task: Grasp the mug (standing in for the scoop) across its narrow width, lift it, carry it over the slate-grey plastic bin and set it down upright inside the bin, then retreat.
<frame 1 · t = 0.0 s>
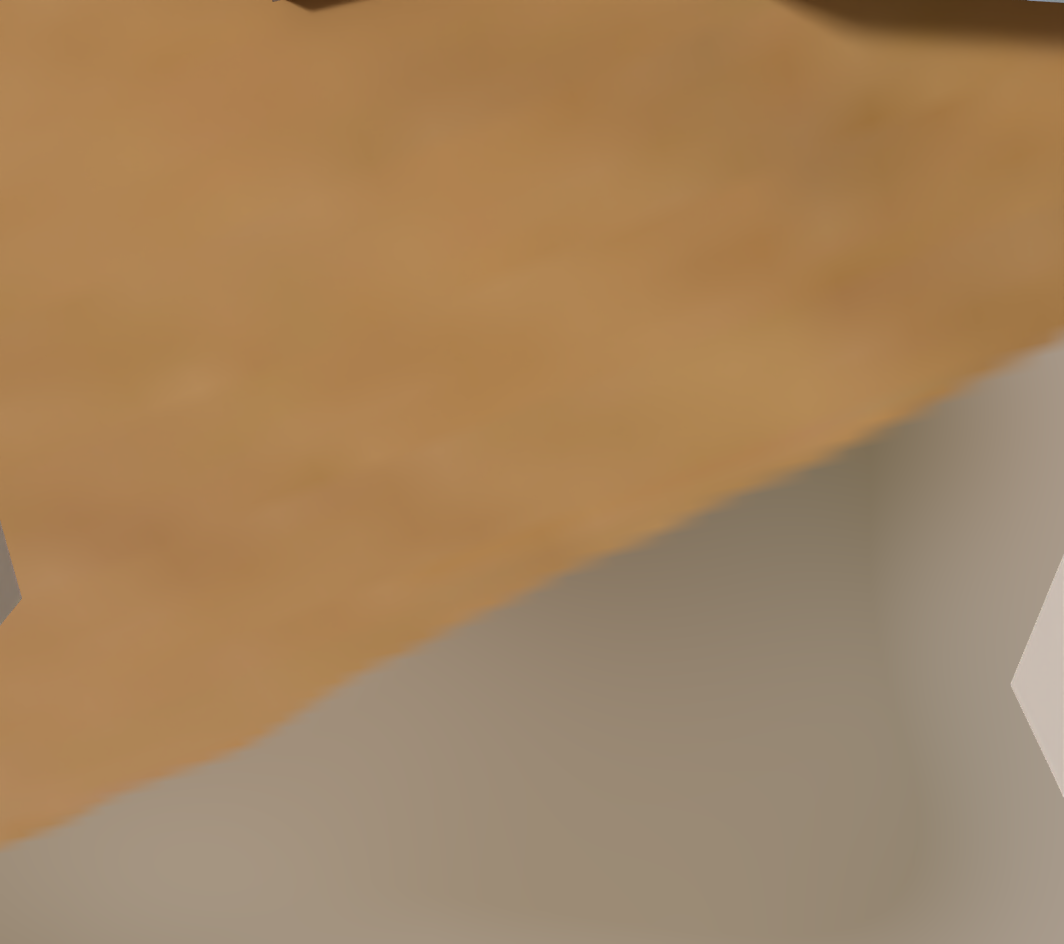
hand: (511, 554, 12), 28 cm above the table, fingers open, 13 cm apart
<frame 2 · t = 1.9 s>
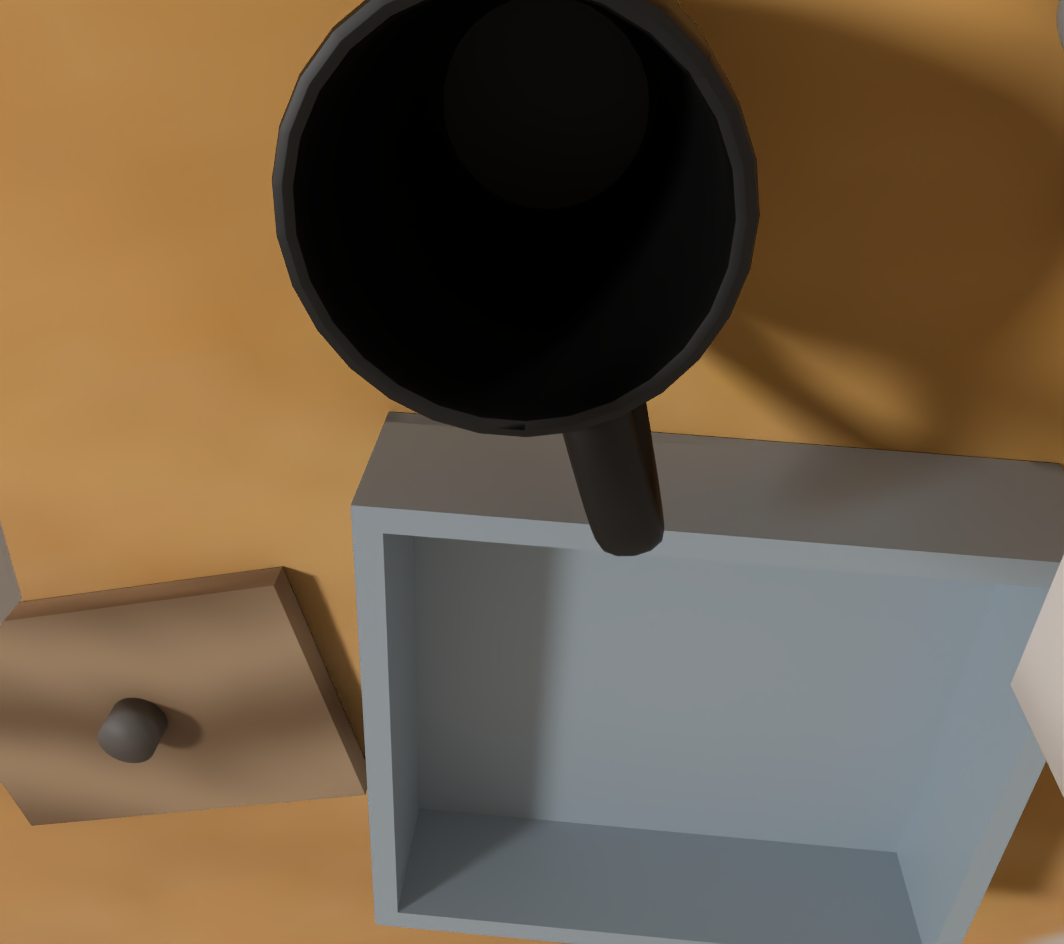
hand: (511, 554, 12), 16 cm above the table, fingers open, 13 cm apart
bin: (681, 661, 34), on the table
lid: (151, 698, 37), on the table
mug: (566, 177, 26), on the table
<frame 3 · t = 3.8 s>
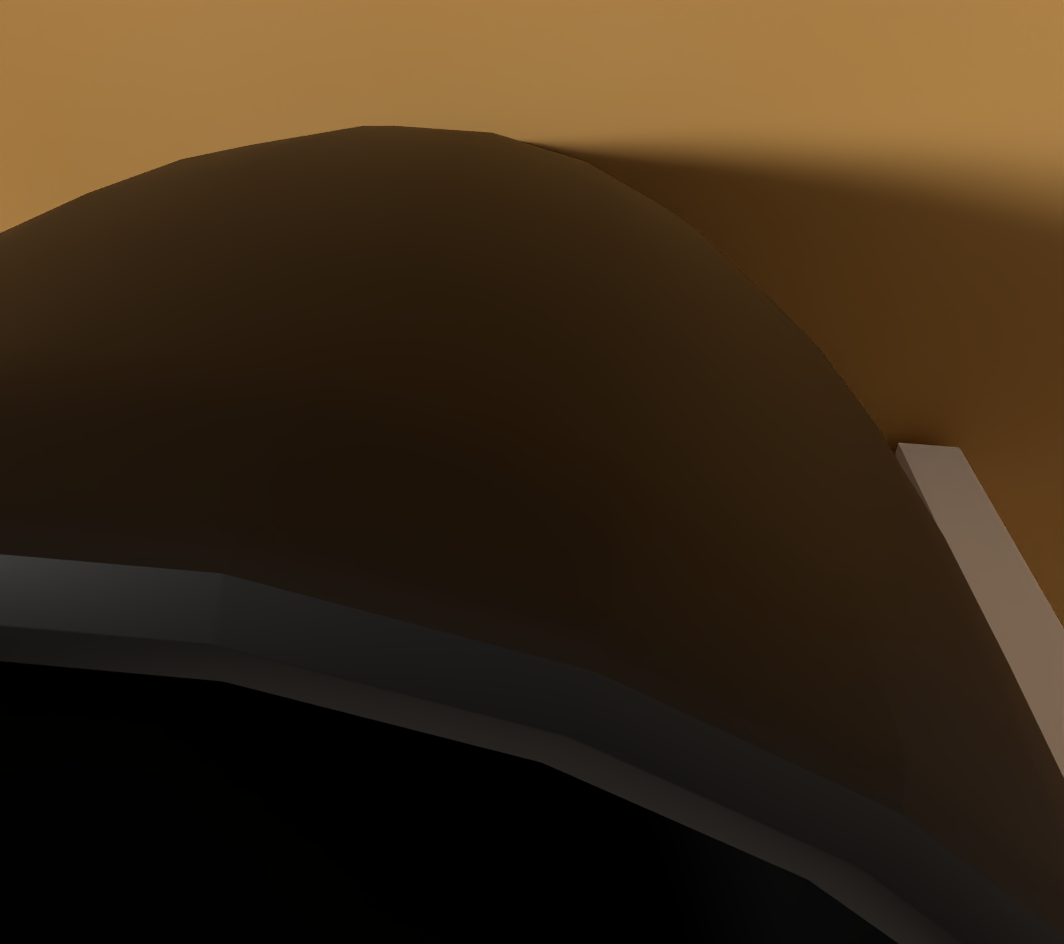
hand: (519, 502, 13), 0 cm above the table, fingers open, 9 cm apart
mug: (522, 479, 14), on the table, touching gripper
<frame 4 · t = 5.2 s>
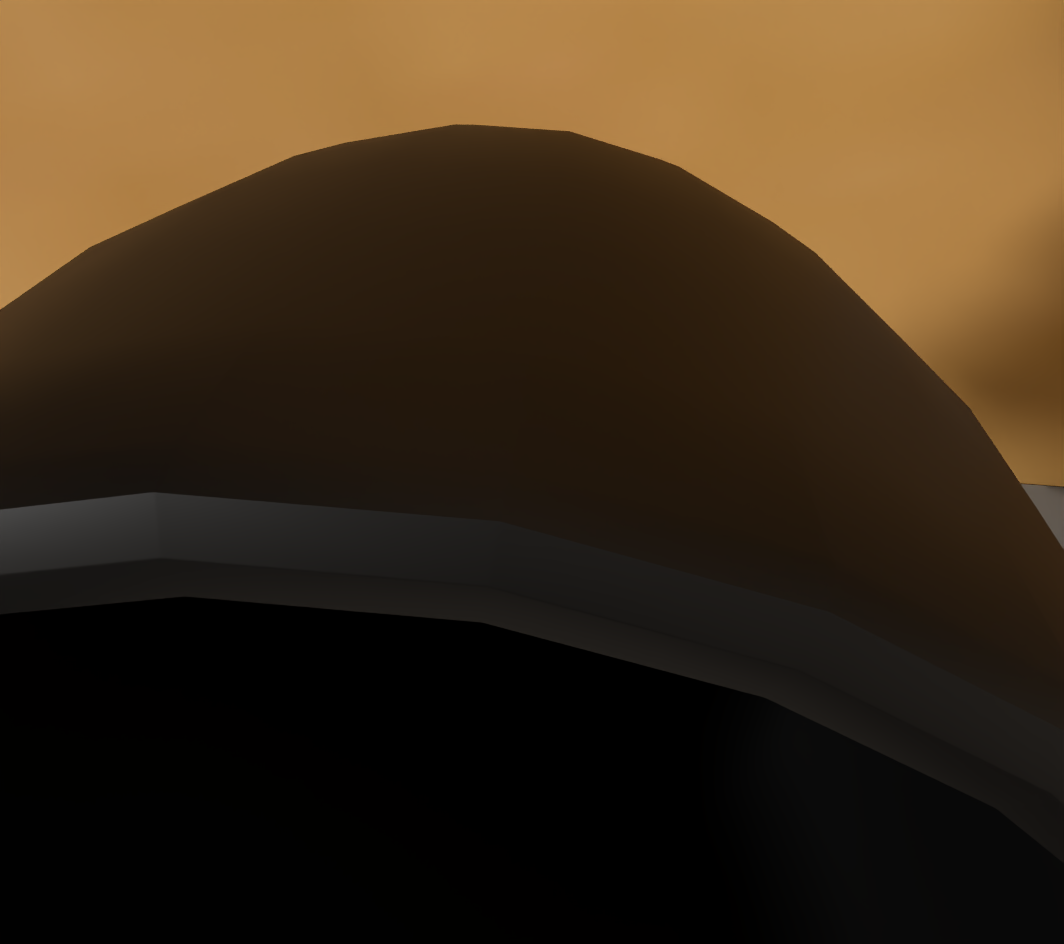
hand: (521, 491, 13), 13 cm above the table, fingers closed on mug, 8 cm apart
bin: (682, 688, 33), on the table
mug: (568, 472, 14), point 13 cm above the table, touching gripper
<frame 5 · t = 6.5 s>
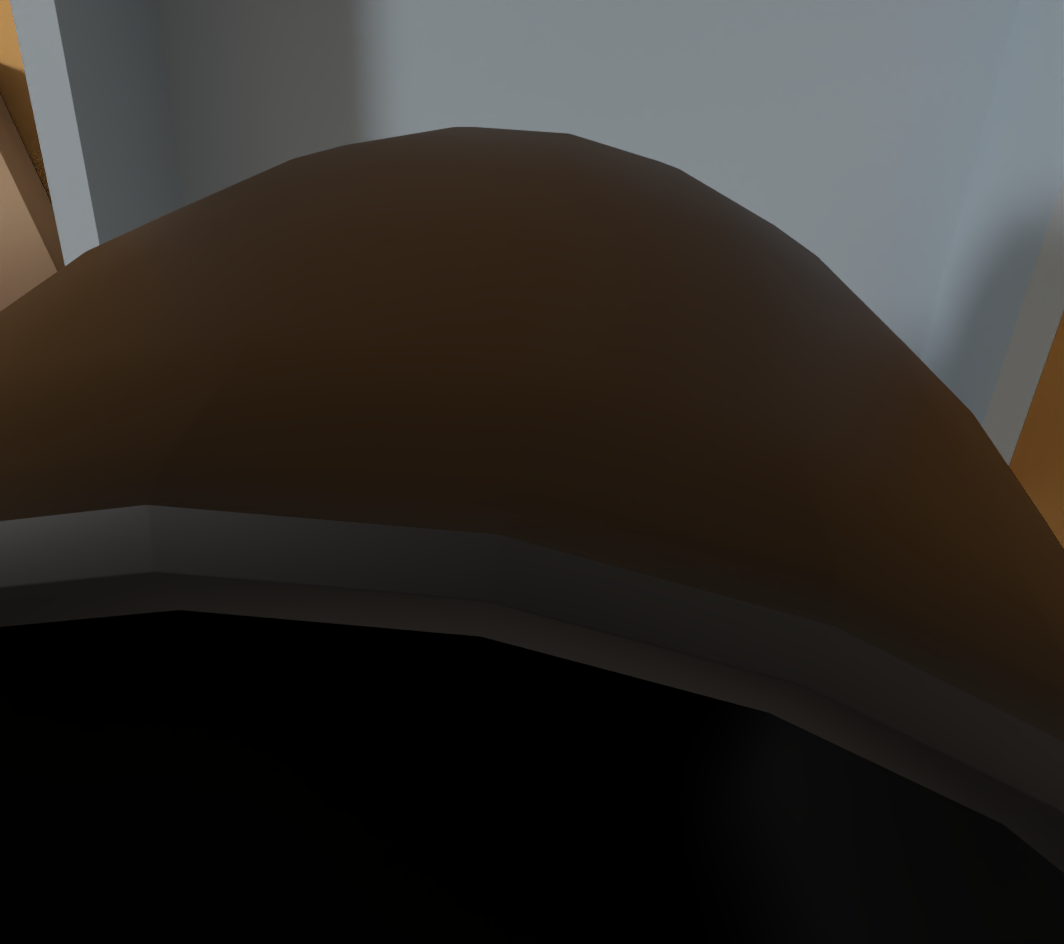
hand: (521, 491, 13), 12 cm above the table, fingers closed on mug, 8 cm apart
bin: (563, 212, 24), on the table
mug: (568, 474, 14), point 12 cm above the table, touching gripper
when the fingers open (2 cm above the table, at t = 8.6 s): mug drops 1 cm, resting on bin.
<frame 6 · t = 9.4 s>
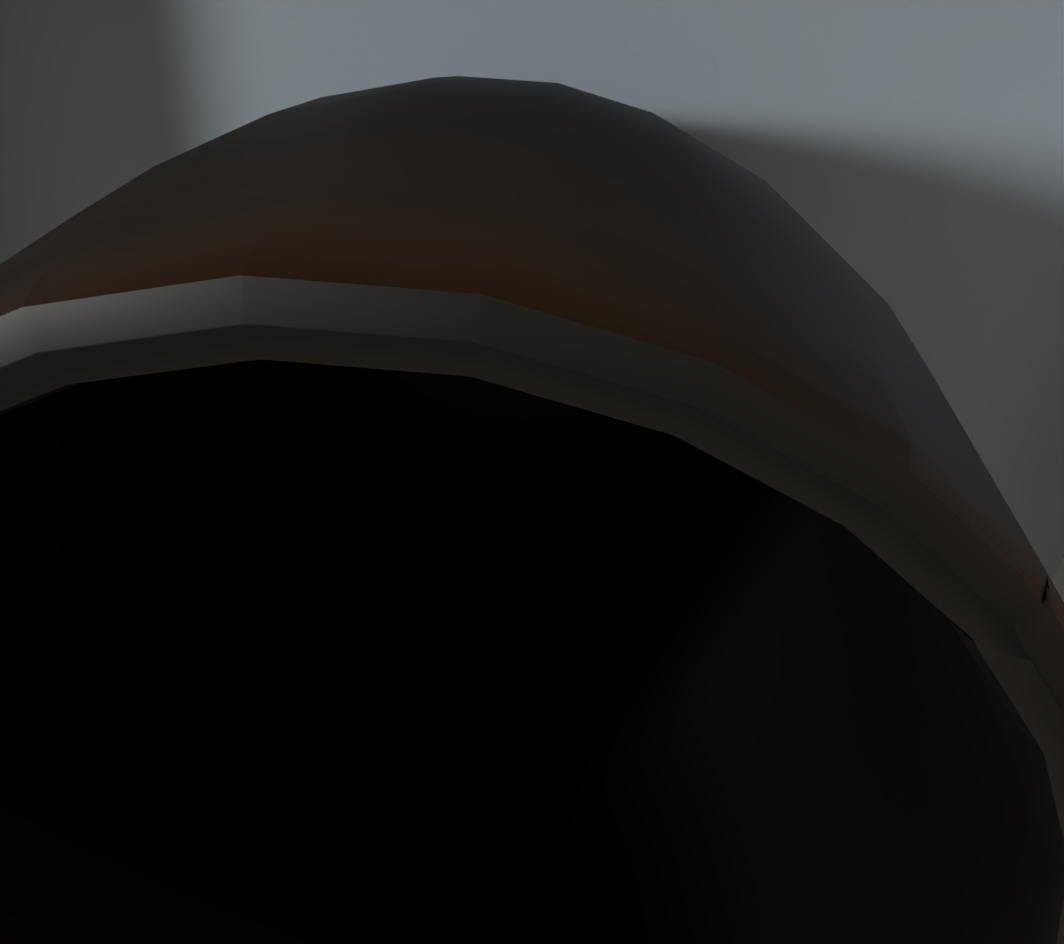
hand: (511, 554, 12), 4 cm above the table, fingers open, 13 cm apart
bin: (533, 412, 15), on the table
mug: (564, 418, 15), resting on bin
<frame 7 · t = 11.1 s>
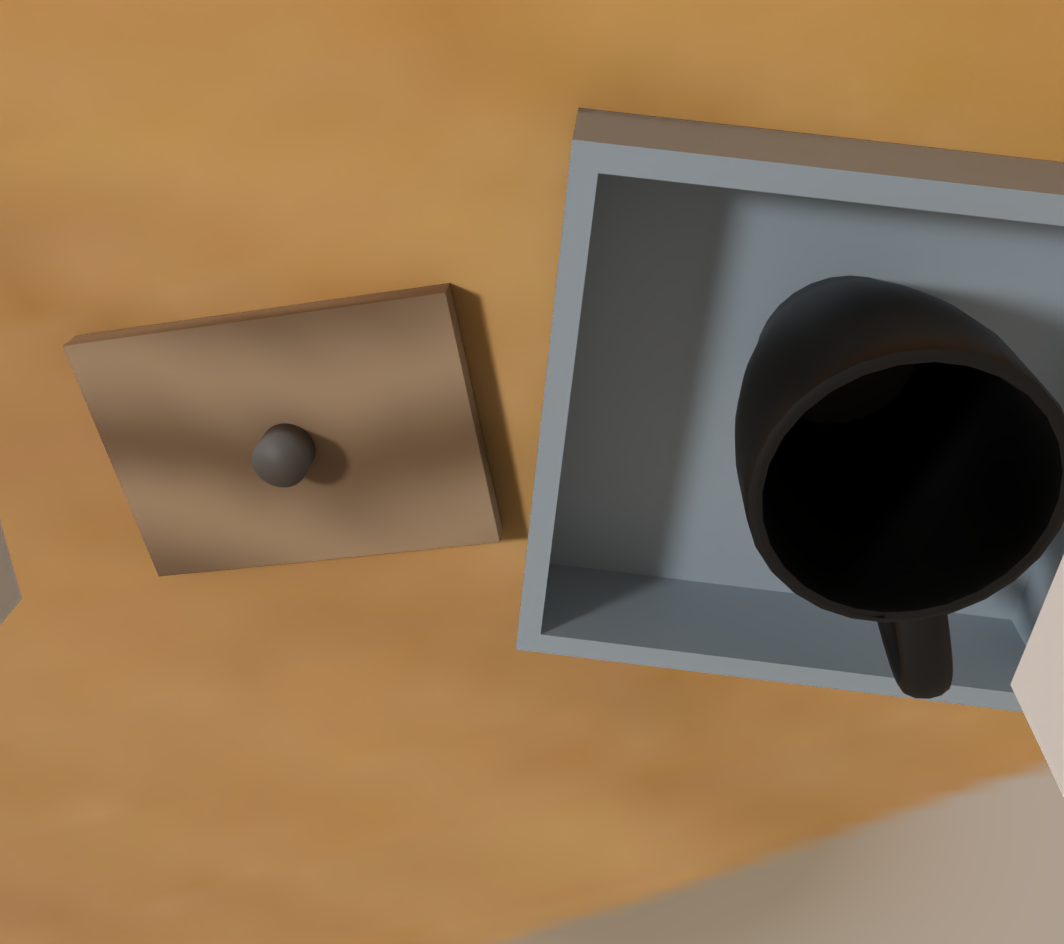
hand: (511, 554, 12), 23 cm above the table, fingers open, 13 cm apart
bin: (825, 398, 35), on the table
lid: (296, 435, 38), on the table
mug: (842, 401, 35), resting on bin
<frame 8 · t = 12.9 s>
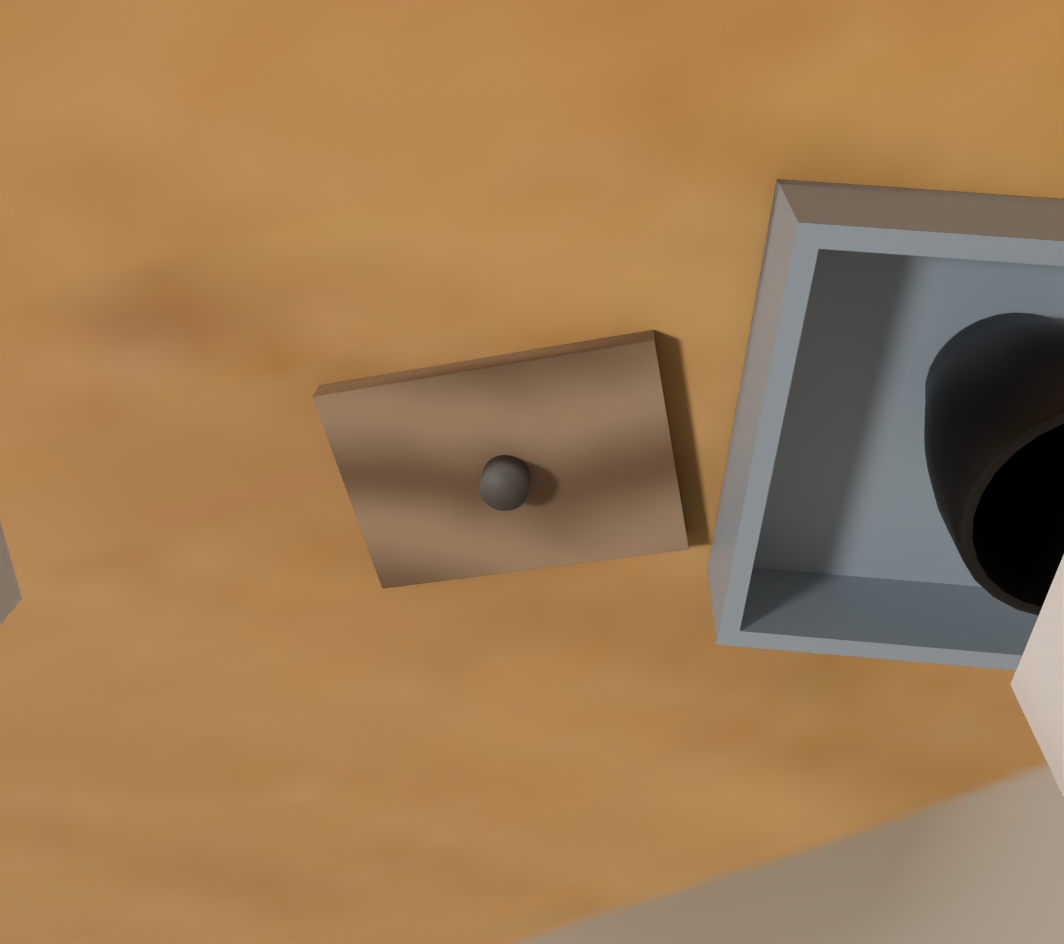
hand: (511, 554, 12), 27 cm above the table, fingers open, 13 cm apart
bin: (983, 416, 40), on the table
lid: (508, 463, 43), on the table
mug: (1000, 418, 40), resting on bin
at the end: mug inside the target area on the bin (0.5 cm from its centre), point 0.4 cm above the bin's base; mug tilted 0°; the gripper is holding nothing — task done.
